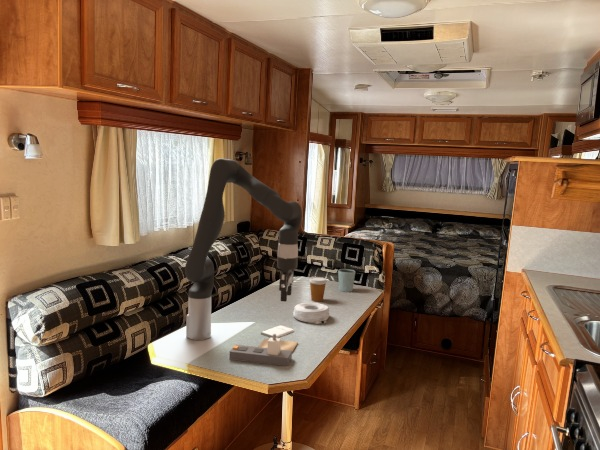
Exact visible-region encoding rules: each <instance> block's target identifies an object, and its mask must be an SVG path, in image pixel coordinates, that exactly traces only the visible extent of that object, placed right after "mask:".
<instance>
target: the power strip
mask: <svg viewBox="0 0 600 450" xmlns="http://www.w3.org/2000/svg"><path fill="white" fill-rule="evenodd" d="M267 352H268V348H262V347H258V346H252V345H242V344H235V345H234V346H232V348H231V349H230V350H229V360H234V361H240V362H241V361H244V362H250V363H259V364H266V365H267V364H268V365H275V366H284V367H288V366H289V364H290V362H291V361H292V358H293V352H292V351H288V350H280V354H279V356H278V355H270V354H267Z"/></svg>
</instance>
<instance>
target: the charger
mask: <svg viewBox="0 0 600 450" xmlns="http://www.w3.org/2000/svg"><path fill="white" fill-rule="evenodd" d="M268 339H269V340H268V352H267V354H270V355H278V356H279V354H280V350H281V340H282V339H281V337H278V338H276V334H273V338H271V337H269V338H268Z"/></svg>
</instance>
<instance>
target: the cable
mask: <svg viewBox="0 0 600 450" xmlns="http://www.w3.org/2000/svg"><path fill="white" fill-rule="evenodd" d="M293 309H294V310H293V313H292V315H293V318H295V319H296V320H298V321H301V322H305V323H309V324H314V325H315V324H316V325H320V324H322V322H323V324H324V325H325V324H327V320H328V319H329V317H330V309H329V307H328V305H326V304H322V303H319V302H301V303H298V304H296V305H295V306H294V308H293Z"/></svg>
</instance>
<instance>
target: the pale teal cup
mask: <svg viewBox="0 0 600 450" xmlns="http://www.w3.org/2000/svg"><path fill="white" fill-rule="evenodd" d="M337 272H338V273H337V274H338V276H337V277H338V278H337V279H338V287H337V288H338V289H337V290H338V291H340V292H343V293H351V292H353V290H354V283H355V278H356V277H355V276H356V271H355V270H354V269H349V268H340V269H338V271H337Z"/></svg>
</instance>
